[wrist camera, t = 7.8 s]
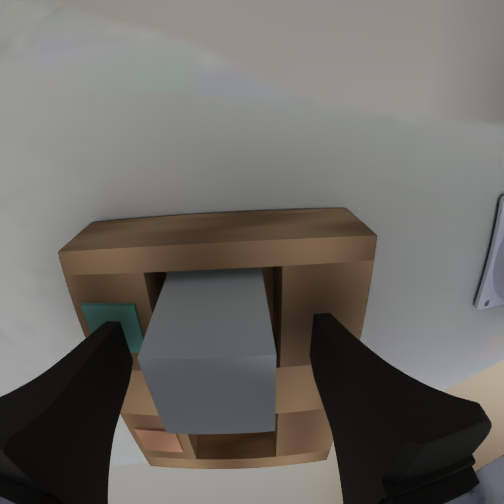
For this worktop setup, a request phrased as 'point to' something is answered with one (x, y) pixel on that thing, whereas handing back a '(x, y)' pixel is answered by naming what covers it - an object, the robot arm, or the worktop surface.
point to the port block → (279, 304)
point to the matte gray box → (212, 353)
